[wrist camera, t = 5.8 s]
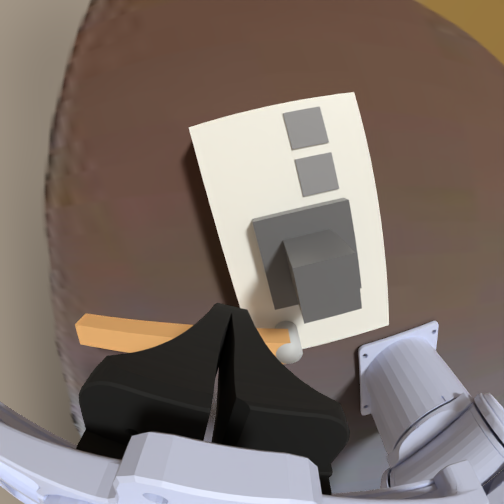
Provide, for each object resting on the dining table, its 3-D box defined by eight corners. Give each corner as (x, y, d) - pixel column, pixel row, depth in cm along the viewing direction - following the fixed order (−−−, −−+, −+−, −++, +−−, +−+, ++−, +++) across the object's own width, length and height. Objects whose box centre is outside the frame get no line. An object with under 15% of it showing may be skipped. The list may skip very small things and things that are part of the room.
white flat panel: (377, 309, 22) (389, 325, 19) (256, 339, 23) (256, 359, 20) (342, 100, 17) (354, 91, 15) (197, 131, 18) (188, 127, 16)
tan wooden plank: (298, 320, 19) (304, 342, 17) (296, 340, 19) (300, 363, 17) (91, 307, 19) (75, 324, 16) (95, 325, 19) (80, 344, 17)
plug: (346, 269, 21) (389, 324, 13) (272, 288, 21) (280, 353, 14) (333, 193, 19) (380, 214, 12) (252, 212, 19) (251, 244, 12)
